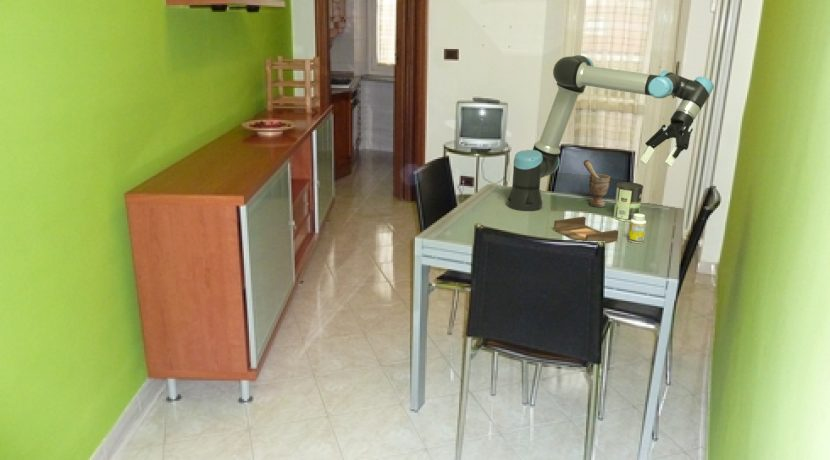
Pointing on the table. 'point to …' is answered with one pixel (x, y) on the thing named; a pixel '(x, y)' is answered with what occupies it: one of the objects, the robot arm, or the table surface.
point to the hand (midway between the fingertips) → (654, 163)
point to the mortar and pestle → (597, 186)
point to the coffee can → (627, 200)
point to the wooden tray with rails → (583, 230)
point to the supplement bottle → (637, 228)
